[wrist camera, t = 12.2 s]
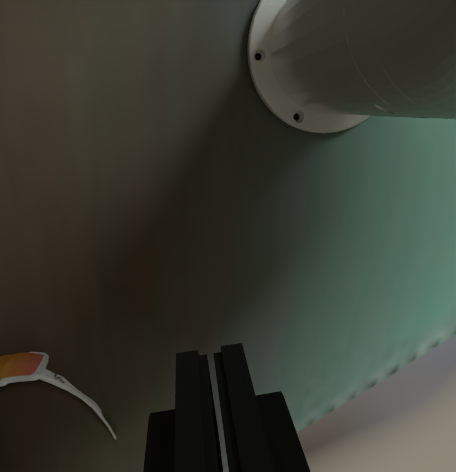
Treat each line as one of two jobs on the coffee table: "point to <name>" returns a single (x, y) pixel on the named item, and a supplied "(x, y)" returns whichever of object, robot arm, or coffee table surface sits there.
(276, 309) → the coffee table surface
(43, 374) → the sunglasses
